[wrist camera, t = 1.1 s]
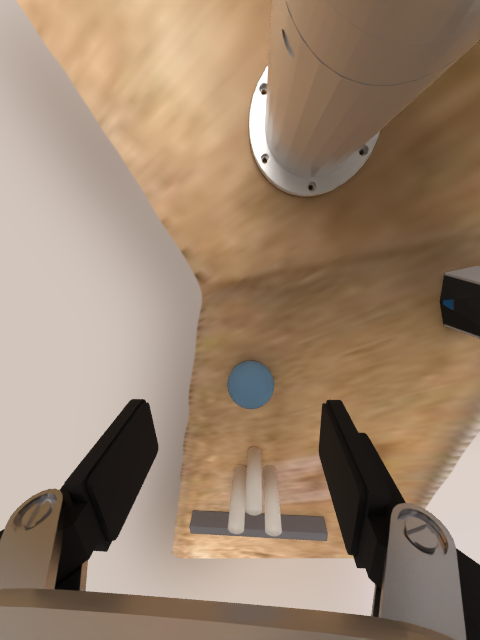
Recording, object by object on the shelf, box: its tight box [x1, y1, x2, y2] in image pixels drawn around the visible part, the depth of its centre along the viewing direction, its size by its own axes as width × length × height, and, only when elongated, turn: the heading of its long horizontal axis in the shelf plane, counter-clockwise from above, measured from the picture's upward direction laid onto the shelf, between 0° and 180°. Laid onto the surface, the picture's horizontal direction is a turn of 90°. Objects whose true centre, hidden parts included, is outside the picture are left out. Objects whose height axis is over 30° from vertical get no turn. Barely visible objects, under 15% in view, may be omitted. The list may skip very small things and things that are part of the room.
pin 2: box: [264, 466, 282, 536], centre depth 34 cm, size 2×2×8 cm
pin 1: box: [228, 465, 247, 534], centre depth 35 cm, size 2×2×8 cm
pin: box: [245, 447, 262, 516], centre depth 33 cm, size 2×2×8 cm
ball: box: [228, 361, 274, 409], centre depth 29 cm, size 6×6×6 cm
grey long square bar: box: [190, 511, 328, 541], centre depth 41 cm, size 2×24×2 cm, turn 93°
